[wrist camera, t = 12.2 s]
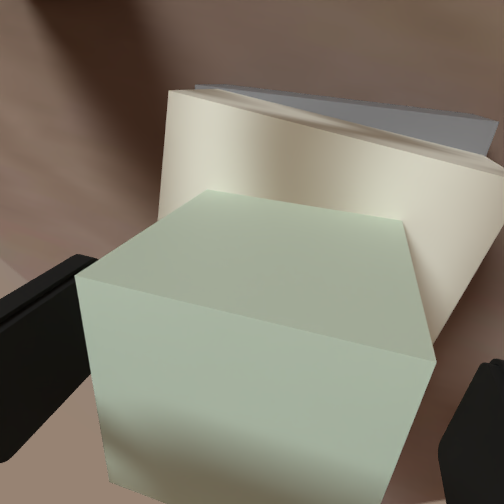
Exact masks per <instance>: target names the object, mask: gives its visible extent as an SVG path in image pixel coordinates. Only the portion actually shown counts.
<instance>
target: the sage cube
mask: <svg viewBox="0 0 504 504" xmlns="http://www.w3.org/2000/svg"><path fill="white" fill-rule="evenodd" d="M75 281H76V287H77V293H78V299H79V305H80V311H81V316H82V322H83V328H84V334H85V340H86V346H87V352H88V358H89V364H90V370H91V376H92V381H93V387H94V393H95V399H96V405H97V411H98V416H99V423H100V429H101V434H102V440H103V447H104V453H105V458H106V464H107V470H108V476H109V482H111V483H114V484H116V485H119V486H121V487H124V488H127V489H129V490H132V491H135V492H137V493H140V494H142V495H145V496H148V497H151V498H153V499H156V500H158V501H161V502H163V503H166V504H381V502H382V499H383V496H384V494H385V491H386V489H387V486H388V484H389V481H390V479H391V476H392V474H393V471H394V469H395V466H396V464H397V461H398V459H399V456H400V454H401V451H402V448H403V446H404V443H405V441H406V438H407V436H408V433H409V431H410V428H411V426H412V423H413V421H414V418H415V416H416V413H417V411H418V408H419V405H420V403H421V400H422V398H423V395H424V393H425V390H426V388H427V385H428V383H429V380H430V378H431V375H432V373H433V370H434V368H435V365H436V363H437V362H436V358H435V354H434V349H433V345H432V341H431V337H430V333H429V329H428V325H427V321H426V317H425V313H424V308H423V304H422V300H421V296H420V292H419V288H418V284H417V280H416V276H415V272H414V267H413V263H412V259H411V255H410V251H409V247H408V243H407V239H406V235H405V231H404V226H403V222H402V221H401V220H395V219H388V218H382V217H376V216H370V215H364V214H357V213H351V212H345V211H339V210H332V209H326V208H320V207H314V206H307V205H301V204H295V203H289V202H283V201H276V200H270V199H264V198H258V197H251V196H245V195H239V194H233V193H226V192H220V191H214V190H208V189H207V190H205V191H204V192H202V193H201V194H199V195H198V196H196V197H194V198H193V199H191V200H190V201H188V202H187V203H185V204H184V205H182V206H181V207H179V208H178V209H176V210H175V211H173V212H171V213H170V214H168V215H167V216H165V217H164V218H162V219H161V220H159V221H158V222H156V223H155V224H153V225H151V226H150V227H148V228H147V229H145V230H144V231H142V232H141V233H139V234H138V235H136V236H135V237H133V238H131V239H130V240H128V241H127V242H125V243H124V244H122V245H121V246H119V247H118V248H116V249H115V250H113V251H112V252H110V253H108V254H107V255H105V256H104V257H102V258H101V259H99V260H98V261H96V262H95V263H93V264H92V265H90V266H88V267H87V268H85V269H84V270H82V271H81V272H79V273H78V274H76V275H75Z"/></svg>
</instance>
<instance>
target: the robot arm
mask: <svg viewBox="0 0 504 504" xmlns="http://www.w3.org/2000/svg"><path fill="white" fill-rule="evenodd" d="M96 261H98V259H97V258H93V257H89V256H85V255H81V254H76V255H74V256H72V257H70V258H68V259H67V260H65V261H63V262H62V263H60V264H58V265H57V266H55V267H53V268H52V269H50V270H48V271H47V272H45V273H43V274H42V275H40V276H38V277H37V278H35V279H33V280H31V281H30V282H28V283H27V284H25V285H23V286H21V287H20V288H18V289H17V290H15V291H13V292H11V293H10V294H8V295H6V296H5V297H3V298H1V299H0V463H3V462H5V461H7V460H9V459H10V458H11V457H12V456H13V455H14V454H15V453H16V452H17V451H18V450H19V449H20V448H21V447H22V446H23V445H24V444H25V443H26V442H27V441H28V439H29V438H30V437H31V436H32V435H33V434H34V433H35V432H36V431H37V430H38V429H39V428H40V427H41V426H42V425H43V423H45V422H46V420H47V419H48V418H49V417H50V416H51V415H52V414H53V413H54V412H55V411H56V410H57V409H58V408H59V407H60V406H61V405H62V403H63V402H64V401H65V400H66V399H67V398H68V397H69V396H70V395H71V394H72V393H73V392H74V391H75V390H76V389H77V388H78V387H79V385H80V384H81V383H82V382H83V381H84V380H85V379H86V378H87V377H88V376H89V375H90V374H91V370H90V364H89V358H88V352H87V346H86V340H85V334H84V328H83V322H82V316H81V311H80V305H79V299H78V293H77V287H76V281H75V275H76V274H78V273H79V272H81V271H82V270H84V269H85V268H87V267H88V266H90V265H92V264H93V263H95V262H96ZM438 459H439V465H440V470H441V476H442V481H443V487H444V492H445V498H446V503H447V504H504V360H500V359H493V360H492V361H491V362H490V363H482V364H481V365H480V366H479V368H478V370H477V372H476V374H475V376H474V377H473V379H472V381H471V383H470V385H469V387H468V389H467V391H466V393H465V395H464V397H463V399H462V401H461V402H460V404H459V406H458V408H457V410H456V412H455V414H454V416H453V418H452V420H451V422H450V424H449V425H448V427H447V429H446V431H445V433H444V435H443V437H442V439H441V441H440V443H439V448H438Z"/></svg>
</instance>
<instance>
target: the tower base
mask: <svg viewBox="0 0 504 504" xmlns="http://www.w3.org/2000/svg"><path fill="white" fill-rule="evenodd" d="M196 89H221V90H225V91H229V92H233V93H237V94H241V95H245V96H249V97H253V98H257V99H261V100H265V101H269V102H273V103H277V104H281V105H285V106H289V107H293V108H297V109H301V110H305V111H309V112H313V113H317V114H321V115H325V116H329V117H333V118H337V119H341V120H345V121H349V122H353V123H356V124H360V125H364V126H368V127H372V128H376V129H380V130H384V131H388V132H392V133H396V134H400V135H404V136H408V137H412V138H416V139H420V140H424V141H428V142H432V143H436V144H440V145H444V146H448V147H452V148H456V149H460V150H464V151H468V152H472V153H476V154H480V155H484V156H485V157H486V155H487V152H488V150H489V147H490V144H491V142H492V139H493V137H494V134H495V131H496V129H497V126H498V124H499V122H498V121H494V120H491V119H487V118H484V117H481V116H477V115H474V114H467V113H459V112H451V111H442V110H434V109H426V108H418V107H409V106H401V105H393V104H384V103H376V102H368V101H359V100H351V99H343V98H334V97H326V96H318V95H309V94H301V93H293V92H285V91H276V90H268V89H260V88H251V87H243V86H235V85H226V84H211V85H195V90H196Z"/></svg>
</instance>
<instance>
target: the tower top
mask: <svg viewBox="0 0 504 504" xmlns="http://www.w3.org/2000/svg"><path fill="white" fill-rule="evenodd" d="M207 189H208V190H214V191H220V192H226V193H233V194H239V195H245V196H251V197H258V198H264V199H270V200H276V201H283V202H289V203H295V204H301V205H307V206H314V207H320V208H326V209H332V210H339V211H345V212H351V213H357V214H364V215H370V216H376V217H382V218H388V219H395V220H401V221H402V222H403V226H404V231H405V235H406V239H407V243H408V247H409V251H410V255H411V259H412V263H413V267H414V272H415V276H416V280H417V284H418V288H419V292H420V296H421V300H422V304H423V308H424V313H425V317H426V321H427V325H428V329H429V333H430V337H431V341H432V345H433V344H434V342H435V340H436V339H437V337H438V335H439V333H440V332H441V330H442V328H443V327H444V325H445V323H446V322H447V320H448V318H449V316H450V315H451V313H452V311H453V310H454V308H455V306H456V305H457V303H458V301H459V299H460V298H461V296H462V294H463V293H464V291H465V289H466V288H467V286H468V284H469V282H470V281H471V279H472V277H473V276H474V274H475V272H476V271H477V269H478V267H479V265H480V264H481V262H482V260H483V259H484V257H485V255H486V254H487V252H488V250H489V248H490V247H491V245H492V243H493V242H494V240H495V238H496V237H497V235H498V233H499V231H500V230H501V228H502V226H503V225H504V168H503V167H501V166H500V165H498V164H497V163H495V162H493V161H492V160H490V159H489V158H487V157H485V156H484V155H480V154H476V153H472V152H468V151H464V150H460V149H456V148H452V147H448V146H444V145H440V144H436V143H432V142H428V141H424V140H420V139H416V138H412V137H408V136H404V135H400V134H396V133H392V132H388V131H384V130H380V129H376V128H372V127H368V126H364V125H360V124H356V123H353V122H349V121H345V120H341V119H337V118H333V117H329V116H325V115H321V114H317V113H313V112H309V111H305V110H301V109H297V108H293V107H289V106H285V105H281V104H277V103H273V102H269V101H265V100H261V99H257V98H253V97H249V96H245V95H241V94H237V93H233V92H229V91H225V90H221V89H196V90H169V93H168V105H167V117H166V129H165V141H164V152H163V164H162V176H161V188H160V200H159V212H158V221H159V220H161V219H162V218H164V217H165V216H167V215H168V214H170V213H171V212H173V211H175V210H176V209H178V208H179V207H181V206H182V205H184V204H185V203H187V202H188V201H190V200H191V199H193V198H194V197H196V196H198V195H199V194H201V193H202V192H204V191H205V190H207Z"/></svg>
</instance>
